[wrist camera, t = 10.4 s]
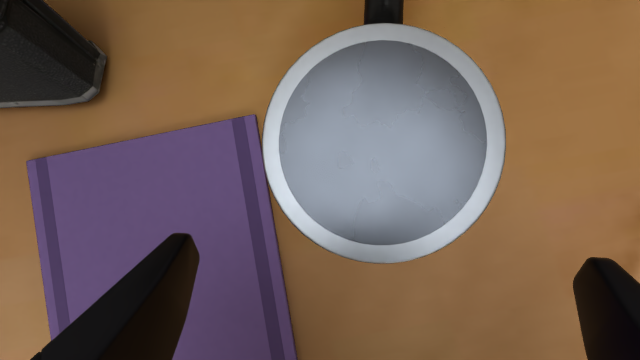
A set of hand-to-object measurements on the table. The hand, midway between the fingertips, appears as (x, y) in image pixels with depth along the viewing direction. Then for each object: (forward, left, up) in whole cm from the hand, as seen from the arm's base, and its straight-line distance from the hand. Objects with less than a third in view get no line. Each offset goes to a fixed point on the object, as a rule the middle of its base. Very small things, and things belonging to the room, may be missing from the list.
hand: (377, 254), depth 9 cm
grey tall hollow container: (+4, -4, -10) cm, 12 cm away
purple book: (+4, +11, -10) cm, 16 cm away
